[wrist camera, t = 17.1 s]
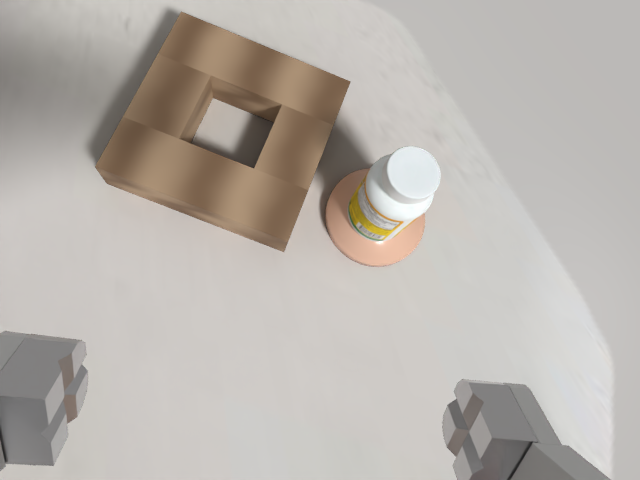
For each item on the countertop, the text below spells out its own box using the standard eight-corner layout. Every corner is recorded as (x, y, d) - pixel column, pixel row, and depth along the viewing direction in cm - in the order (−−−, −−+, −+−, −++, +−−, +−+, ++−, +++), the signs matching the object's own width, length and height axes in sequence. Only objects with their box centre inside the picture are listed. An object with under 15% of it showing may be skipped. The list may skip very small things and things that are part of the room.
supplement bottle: (355, 248, 41) (388, 214, 32) (339, 191, 42) (367, 143, 33) (412, 236, 42) (459, 199, 33) (394, 180, 44) (436, 131, 34)
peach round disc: (311, 244, 42) (312, 241, 41) (343, 158, 44) (345, 153, 43) (405, 281, 42) (409, 279, 41) (431, 193, 45) (435, 190, 44)
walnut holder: (106, 183, 40) (94, 166, 37) (185, 38, 45) (181, 11, 42) (283, 252, 41) (287, 241, 38) (342, 102, 46) (350, 81, 43)
